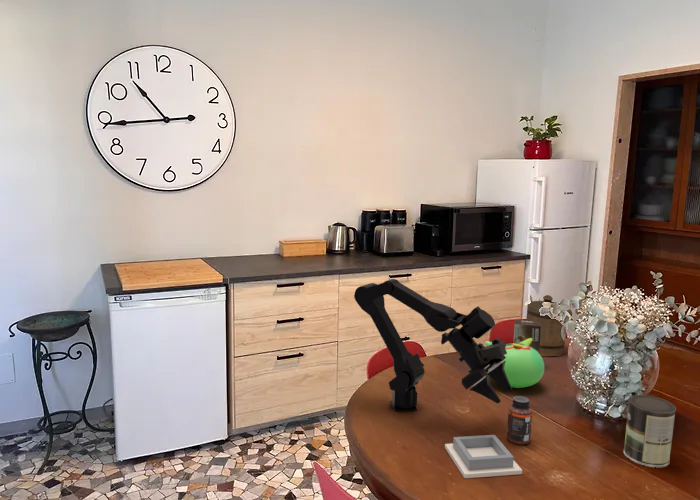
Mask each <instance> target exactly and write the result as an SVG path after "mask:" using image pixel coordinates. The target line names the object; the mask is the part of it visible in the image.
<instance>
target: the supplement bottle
mask: <svg viewBox="0 0 700 500" xmlns="http://www.w3.org/2000/svg"><path fill="white" fill-rule="evenodd" d="M507 410H508V412H507V423H506V424H507V426H506V438H507V440H508V441H509V442H510V443H512V444H517V445H527V444H529V443H530V442H531V438H532V437H531V435H532V422H533V421H532V420H533V409H532V408H531V406H530V400H529V398H528V397H526V396H523V395H516V396H514V397H512V403H510V404H509V406H508V409H507Z"/></svg>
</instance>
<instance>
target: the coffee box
mask: <svg viewBox="0 0 700 500" xmlns="http://www.w3.org/2000/svg"><path fill="white" fill-rule="evenodd" d="M529 338H532V339H533V340H532V342H531V344H530V345H529V347H531V348H533V349H535V350H536V351H537V352H538V353H539V354H540V340H541V323H540V322H536V321H526V319H523V320H522V319H514V327H513V343H517V344H518V343H520V342H522V341H524V340H526V339H529Z"/></svg>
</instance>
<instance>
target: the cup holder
mask: <svg viewBox="0 0 700 500" xmlns="http://www.w3.org/2000/svg"><path fill="white" fill-rule="evenodd" d="M444 448H445V450H446V452H447V453H448V455H449V456H450V458H451V460H452V461H453V463H454V464H455V466H456V468H457V470H459V472H460V474H461V475H462V477H463V479H473V478H486V477H487V478H488V477H489V478H490V477H502V476H515V475H522V474H523V469H522V468H521V467H520V466H519V464H518V463H517V461H515V460H514V459H515V458H514V457H515V456H514V455H513V454H511V452H510V450H508V448H507V447H506V446H505V445H504V444H503V443H502V442H501V440H500V439H499V438H498V437H497V435H495V434H486V435H468V436H453V438H452V443H445V444H444Z"/></svg>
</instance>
